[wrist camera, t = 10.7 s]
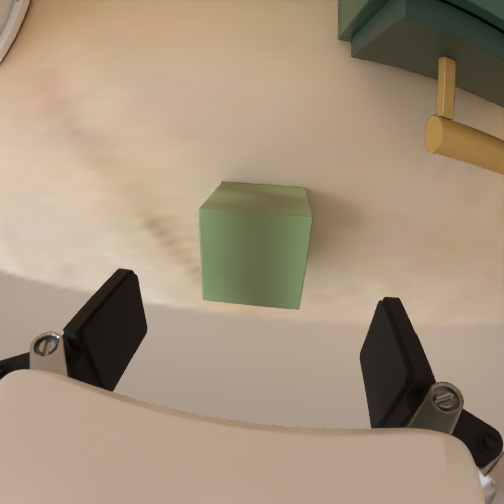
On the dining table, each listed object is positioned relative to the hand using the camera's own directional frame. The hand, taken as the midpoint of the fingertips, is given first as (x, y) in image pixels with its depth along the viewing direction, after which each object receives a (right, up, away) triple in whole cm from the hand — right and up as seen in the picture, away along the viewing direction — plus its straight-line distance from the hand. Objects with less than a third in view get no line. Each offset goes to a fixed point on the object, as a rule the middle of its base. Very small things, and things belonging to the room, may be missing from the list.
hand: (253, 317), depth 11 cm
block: (+1, +4, +7) cm, 9 cm away
